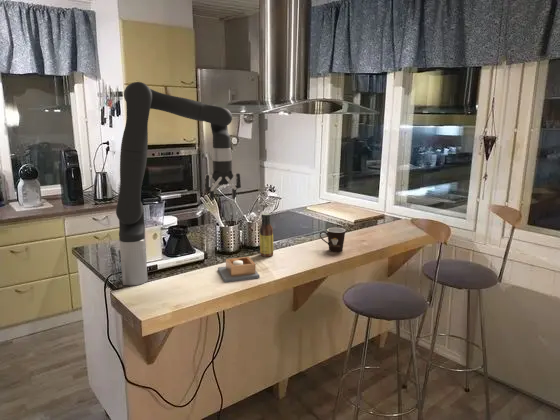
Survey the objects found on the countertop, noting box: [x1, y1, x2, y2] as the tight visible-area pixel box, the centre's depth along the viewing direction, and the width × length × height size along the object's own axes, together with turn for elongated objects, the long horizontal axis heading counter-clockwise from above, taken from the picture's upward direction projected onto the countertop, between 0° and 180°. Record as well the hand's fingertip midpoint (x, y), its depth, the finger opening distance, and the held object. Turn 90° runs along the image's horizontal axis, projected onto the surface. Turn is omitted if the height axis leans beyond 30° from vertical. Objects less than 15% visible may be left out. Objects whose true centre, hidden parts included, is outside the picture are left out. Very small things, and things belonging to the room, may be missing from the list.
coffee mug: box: [319, 227, 347, 253], centre depth 209 cm, size 12×9×10 cm
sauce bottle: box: [259, 212, 275, 258], centre depth 199 cm, size 7×6×20 cm
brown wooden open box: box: [225, 256, 257, 277], centre depth 178 cm, size 10×10×4 cm
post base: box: [217, 260, 260, 283], centre depth 177 cm, size 14×14×5 cm
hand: (223, 199), depth 177 cm, fingers open, 8 cm apart
